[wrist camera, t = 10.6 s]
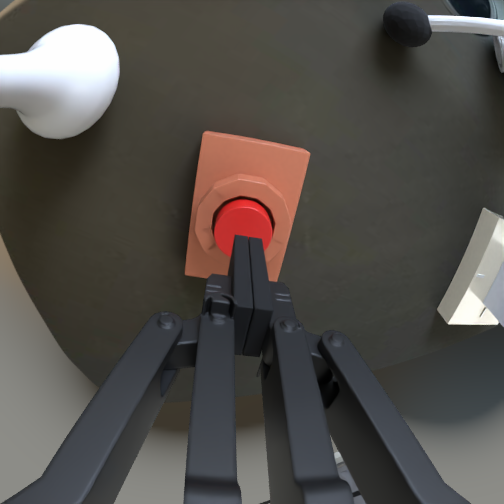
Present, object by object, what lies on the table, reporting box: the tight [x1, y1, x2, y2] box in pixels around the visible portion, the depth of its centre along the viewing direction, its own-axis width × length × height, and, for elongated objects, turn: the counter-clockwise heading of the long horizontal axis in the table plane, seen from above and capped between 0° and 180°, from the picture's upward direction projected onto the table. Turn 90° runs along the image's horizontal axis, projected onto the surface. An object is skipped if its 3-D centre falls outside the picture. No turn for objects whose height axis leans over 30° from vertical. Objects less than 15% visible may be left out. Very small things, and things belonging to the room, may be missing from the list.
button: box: [214, 199, 272, 257], centre depth 21 cm, size 4×4×2 cm
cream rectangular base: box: [437, 208, 504, 325], centre depth 29 cm, size 14×12×3 cm
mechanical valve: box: [383, 2, 504, 73], centre depth 16 cm, size 10×18×15 cm
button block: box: [185, 131, 310, 282], centre depth 24 cm, size 12×8×4 cm, turn 169°
